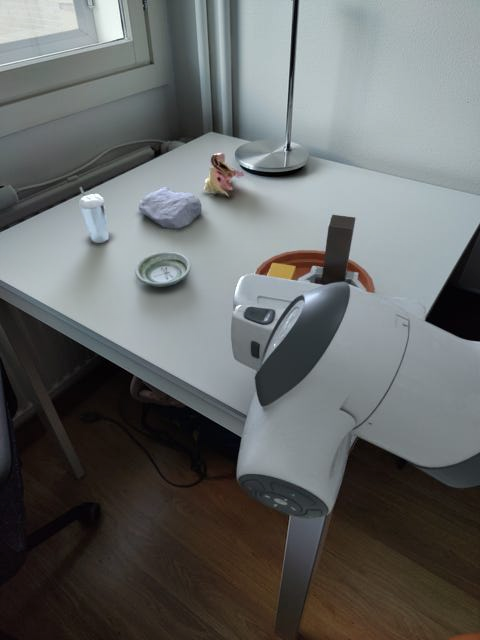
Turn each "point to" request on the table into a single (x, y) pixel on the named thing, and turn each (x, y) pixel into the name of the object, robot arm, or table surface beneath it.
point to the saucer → (163, 269)
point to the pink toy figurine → (220, 175)
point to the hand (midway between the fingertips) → (334, 273)
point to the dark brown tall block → (337, 249)
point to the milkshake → (94, 216)
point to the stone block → (170, 208)
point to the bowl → (309, 259)
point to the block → (282, 271)
